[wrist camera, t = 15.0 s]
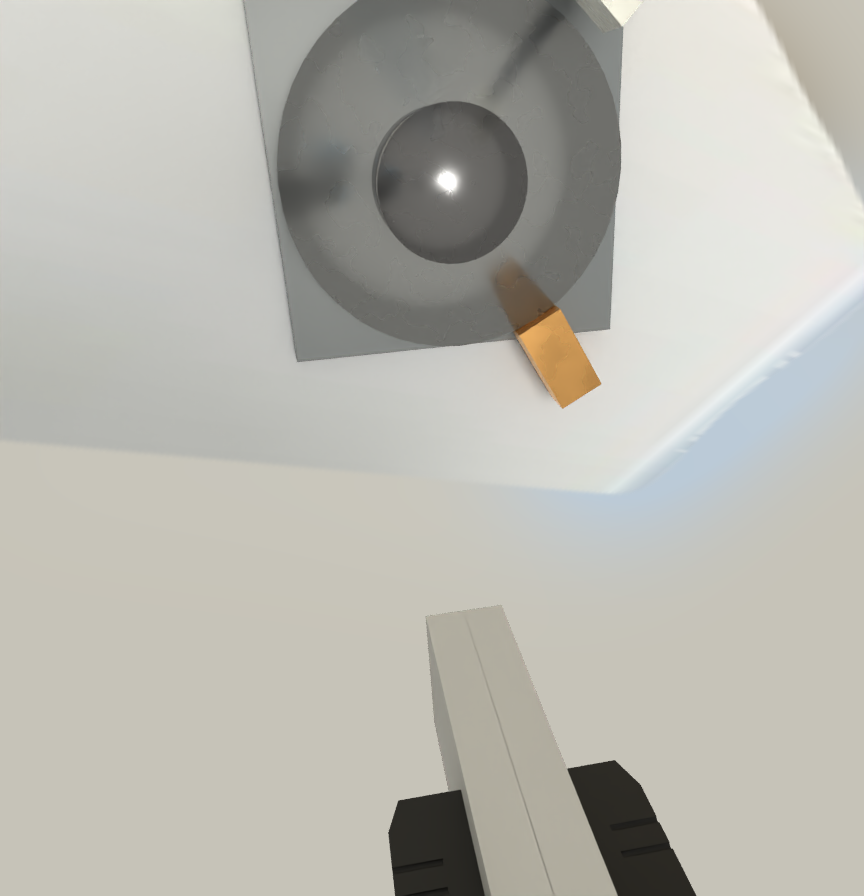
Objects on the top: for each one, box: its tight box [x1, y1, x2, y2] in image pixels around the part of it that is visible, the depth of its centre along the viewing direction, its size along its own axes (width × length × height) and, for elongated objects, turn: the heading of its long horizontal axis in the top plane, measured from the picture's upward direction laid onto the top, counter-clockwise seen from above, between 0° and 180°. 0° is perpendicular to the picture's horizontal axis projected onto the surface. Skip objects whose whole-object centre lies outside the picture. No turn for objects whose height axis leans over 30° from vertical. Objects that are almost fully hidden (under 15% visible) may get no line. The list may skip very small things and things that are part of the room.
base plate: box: [244, 0, 623, 362], centre depth 43 cm, size 21×21×1 cm
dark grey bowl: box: [372, 101, 528, 264], centre depth 39 cm, size 8×8×4 cm
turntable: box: [277, 0, 621, 409], centre depth 42 cm, size 20×26×2 cm
